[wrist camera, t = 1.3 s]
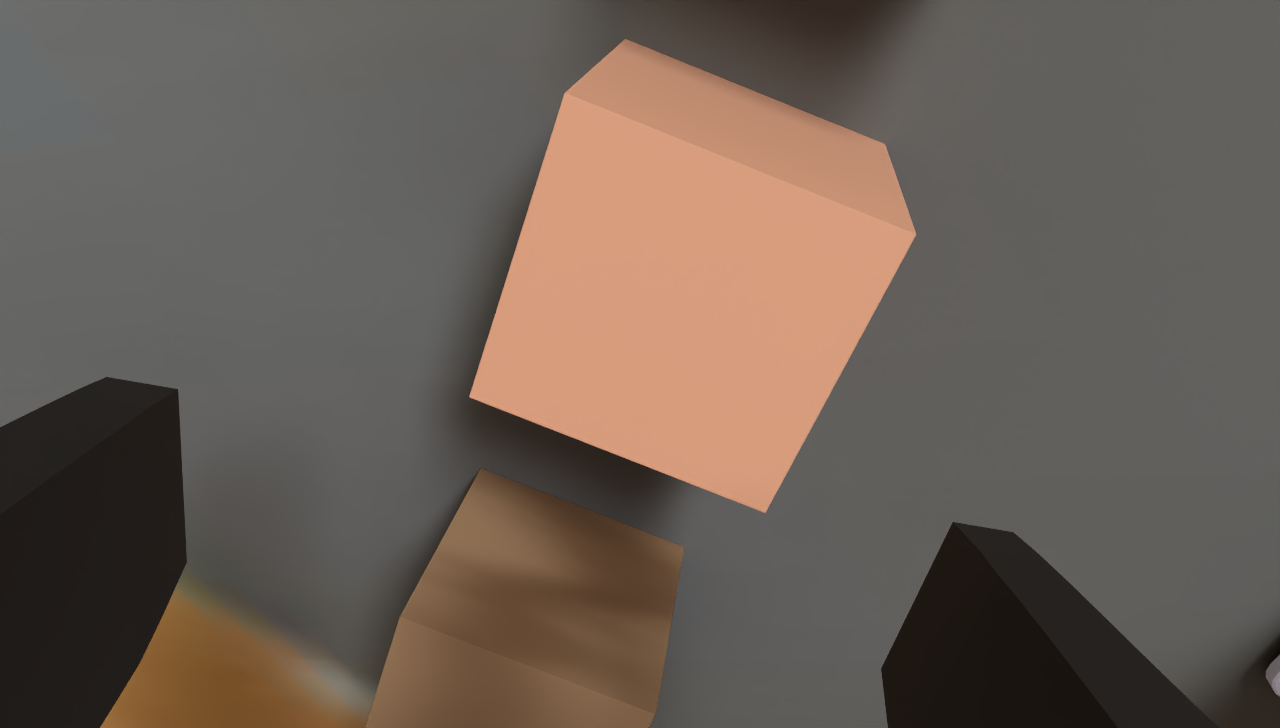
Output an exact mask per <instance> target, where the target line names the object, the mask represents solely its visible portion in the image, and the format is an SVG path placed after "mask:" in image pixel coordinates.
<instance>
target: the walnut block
mask: <svg viewBox="0 0 1280 728" xmlns="http://www.w3.org/2000/svg"><path fill="white" fill-rule="evenodd" d="M683 552H684V547H683V546H680V545H678V544H675V543H672V542H670V541H667V540H665V539H662V538H660V537H657V536H654V535H652V534H649V533H647V532H644V531H642V530H639V529H636V528H634V527H631V526H629V525H626V524H623V523H621V522H618V521H616V520H613V519H611V518H608V517H605V516H603V515H600V514H598V513H595V512H593V511H590V510H587V509H585V508H582V507H580V506H577V505H574V504H572V503H569V502H567V501H564V500H562V499H559V498H556V497H554V496H551V495H549V494H546V493H544V492H541V491H538V490H536V489H533V488H531V487H528V486H525V485H523V484H520V483H518V482H515V481H513V480H510V479H507V478H505V477H502V476H500V475H497V474H495V473H492V472H489V471H487V470H484V469H482V468H481V469H480V471H479V472H478V474H477V476H476V478H475V480H474V482H473V483H472V485H471V487H470V489H469V491H468V493H467V494H466V496H465V498H464V500H463V502H462V504H461V505H460V507H459V509H458V511H457V513H456V515H455V516H454V518H453V520H452V522H451V524H450V526H449V527H448V529H447V531H446V533H445V535H444V537H443V538H442V540H441V542H440V544H439V546H438V548H437V549H436V551H435V553H434V555H433V557H432V559H431V560H430V562H429V564H428V566H427V568H426V570H425V571H424V573H423V575H422V577H421V579H420V581H419V582H418V584H417V586H416V588H415V590H414V592H413V594H412V595H411V597H410V599H409V601H408V603H407V605H406V606H405V608H404V610H403V612H402V614H401V616H400V618H399V621H398V624H397V627H396V631H395V634H394V637H393V640H392V643H391V647H390V650H389V653H388V656H387V659H386V663H385V666H384V669H383V672H382V675H381V679H380V682H379V685H378V688H377V691H376V695H375V698H374V701H373V704H372V707H371V711H370V714H369V717H368V720H367V723H366V727H365V728H649V726H650V724H651V722H652V720H653V718H654V717H655V715H656V710H657V704H658V698H659V692H660V686H661V680H662V675H663V669H664V663H665V657H666V651H667V645H668V640H669V634H670V628H671V622H672V616H673V610H674V605H675V599H676V593H677V587H678V581H679V575H680V570H681V564H682V558H683Z"/></svg>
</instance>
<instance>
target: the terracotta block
mask: <svg viewBox="0 0 1280 728" xmlns="http://www.w3.org/2000/svg"><path fill="white" fill-rule="evenodd" d="M915 236H916V232H915V229H914V227H913V224H912V221H911V218H910V215H909V212H908V209H907V206H906V203H905V201H904V198H903V195H902V192H901V189H900V186H899V183H898V180H897V177H896V174H895V172H894V169H893V166H892V163H891V160H890V157H889V154H888V151H887V148H886V146H885V144H883V143H881V142H878V141H876V140H873V139H871V138H868V137H866V136H863V135H861V134H858V133H856V132H854V131H851V130H849V129H846V128H844V127H841V126H839V125H836V124H834V123H831V122H829V121H826V120H824V119H822V118H819V117H817V116H814V115H812V114H809V113H807V112H804V111H802V110H799V109H797V108H794V107H792V106H790V105H787V104H785V103H782V102H780V101H777V100H775V99H772V98H770V97H767V96H765V95H762V94H760V93H757V92H755V91H753V90H750V89H748V88H745V87H743V86H740V85H738V84H735V83H733V82H730V81H728V80H725V79H723V78H721V77H718V76H716V75H713V74H711V73H708V72H706V71H703V70H701V69H698V68H696V67H693V66H691V65H689V64H686V63H684V62H681V61H679V60H676V59H674V58H671V57H669V56H666V55H664V54H661V53H659V52H656V51H654V50H652V49H649V48H647V47H644V46H642V45H639V44H637V43H634V42H632V41H629V40H627V39H625V40H624V41H622V42H621V43H620V44H619V45H618V46H617V47H616V48H615V49H613V50H612V51H611V52H610V53H609V54H608V55H607V56H606V57H604V58H603V59H602V60H601V61H600V62H599V63H598V64H597V65H596V66H594V67H593V68H592V69H591V70H590V71H589V72H588V73H587V74H585V75H584V76H583V77H582V78H581V79H580V80H579V81H578V82H576V83H575V84H574V85H573V86H572V87H571V88H570V89H569V90H567V91H566V92H565V94H564V97H563V100H562V103H561V107H560V110H559V113H558V116H557V119H556V123H555V126H554V129H553V132H552V135H551V138H550V142H549V145H548V148H547V151H546V154H545V158H544V161H543V164H542V167H541V170H540V173H539V177H538V180H537V183H536V186H535V189H534V193H533V196H532V199H531V202H530V205H529V208H528V212H527V215H526V218H525V221H524V224H523V228H522V231H521V234H520V237H519V240H518V243H517V247H516V250H515V253H514V256H513V259H512V263H511V266H510V269H509V272H508V275H507V278H506V282H505V285H504V288H503V291H502V294H501V298H500V301H499V304H498V307H497V310H496V313H495V317H494V320H493V323H492V326H491V329H490V333H489V336H488V339H487V342H486V345H485V348H484V352H483V355H482V358H481V361H480V364H479V368H478V371H477V374H476V377H475V380H474V383H473V387H472V390H471V393H470V396H469V397H470V398H473V399H475V400H478V401H480V402H483V403H485V404H488V405H490V406H493V407H496V408H498V409H501V410H503V411H506V412H508V413H511V414H513V415H516V416H519V417H521V418H524V419H526V420H529V421H531V422H534V423H537V424H539V425H542V426H544V427H547V428H549V429H552V430H554V431H557V432H560V433H562V434H565V435H567V436H570V437H572V438H575V439H577V440H580V441H583V442H585V443H588V444H590V445H593V446H595V447H598V448H601V449H603V450H606V451H608V452H611V453H613V454H616V455H618V456H621V457H624V458H626V459H629V460H631V461H634V462H636V463H639V464H642V465H644V466H647V467H649V468H652V469H654V470H657V471H659V472H662V473H665V474H667V475H670V476H672V477H675V478H677V479H680V480H682V481H685V482H688V483H690V484H693V485H695V486H698V487H700V488H703V489H706V490H708V491H711V492H713V493H716V494H718V495H721V496H723V497H726V498H729V499H731V500H734V501H736V502H739V503H741V504H744V505H747V506H749V507H752V508H754V509H757V510H759V511H762V512H764V513H765V512H766V511H767V509H768V507H769V505H770V503H771V501H772V499H773V498H774V496H775V494H776V492H777V490H778V488H779V487H780V485H781V483H782V481H783V479H784V477H785V476H786V474H787V472H788V470H789V468H790V466H791V464H792V463H793V461H794V459H795V457H796V455H797V453H798V452H799V450H800V448H801V446H802V444H803V442H804V440H805V439H806V437H807V435H808V433H809V431H810V429H811V428H812V426H813V424H814V422H815V420H816V418H817V416H818V415H819V413H820V411H821V409H822V407H823V405H824V404H825V402H826V400H827V398H828V396H829V394H830V393H831V391H832V389H833V387H834V385H835V383H836V381H837V380H838V378H839V376H840V374H841V372H842V370H843V369H844V367H845V365H846V363H847V361H848V359H849V357H850V356H851V354H852V352H853V350H854V348H855V346H856V345H857V343H858V341H859V339H860V337H861V335H862V334H863V332H864V330H865V328H866V326H867V324H868V322H869V321H870V319H871V317H872V315H873V313H874V311H875V310H876V308H877V306H878V304H879V302H880V300H881V298H882V297H883V295H884V293H885V291H886V289H887V287H888V286H889V284H890V282H891V280H892V278H893V276H894V274H895V273H896V271H897V269H898V267H899V265H900V263H901V262H902V260H903V258H904V256H905V254H906V252H907V251H908V249H909V247H910V245H911V243H912V241H913V239H914V238H915Z"/></svg>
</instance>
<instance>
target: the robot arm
mask: <svg viewBox="0 0 1280 728" xmlns="http://www.w3.org/2000/svg"><path fill="white" fill-rule="evenodd" d="M186 563H187V557H186V537H185V518H184V498H183V478H182V459H181V439H180V419H179V400H178V389H173V388H167V387H162V386H156V385H150V384H144V383H138V382H132V381H127V380H121V379H115V378H109V377H106V378H103V379H101V380H99V381H96V382H94V383H92V384H89V385H87V386H85V387H83V388H80V389H78V390H76V391H74V392H72V393H70V394H68V395H65V396H63V397H61V398H59V399H57V400H55V401H53V402H51V403H49V404H47V405H45V406H43V407H41V408H39V409H37V410H35V411H33V412H30V413H28V414H26V415H24V416H22V417H20V418H18V419H16V420H14V421H12V422H10V423H8V424H6V425H4V426H2V427H0V728H100V726H101V725H102V723H103V722H104V720H105V718H106V717H107V715H108V714H109V712H110V710H111V709H112V707H113V706H114V704H115V702H116V701H117V699H118V698H119V696H120V694H121V693H122V691H123V690H124V688H125V686H126V685H127V683H128V681H129V680H130V678H131V676H132V675H133V673H134V672H135V670H136V668H137V667H138V665H139V663H140V661H141V659H142V657H143V655H144V653H145V651H146V649H147V647H148V645H149V643H150V641H151V639H152V637H153V634H154V632H155V630H156V628H157V626H158V624H159V622H160V620H161V618H162V616H163V614H164V611H165V609H166V607H167V605H168V603H169V600H170V598H171V596H172V594H173V591H174V589H175V587H176V585H177V583H178V580H179V578H180V576H181V574H182V571H183V569H184V567H185V565H186ZM881 671H882V679H883V688H884V697H885V705H886V714H887V723H888V728H1219V727H1217V726H1216V725H1215V724H1214V723H1213V722H1212V721H1211V720H1210V719H1209V718H1208V717H1207V716H1206V715H1205V714H1204V713H1203V712H1202V711H1201V710H1200V709H1198V708H1197V707H1196V706H1195V705H1194V704H1193V703H1192V702H1191V701H1190V700H1189V699H1188V698H1187V697H1186V696H1185V695H1184V694H1183V693H1182V692H1181V691H1180V690H1179V689H1178V688H1177V687H1176V686H1175V685H1174V684H1172V683H1171V682H1170V681H1169V680H1168V679H1167V678H1166V677H1165V676H1164V675H1163V674H1162V673H1161V672H1160V671H1159V670H1158V669H1157V668H1156V667H1155V666H1154V665H1153V664H1152V663H1151V662H1150V661H1149V660H1148V659H1147V658H1146V657H1145V656H1144V655H1143V654H1142V653H1141V652H1140V651H1139V650H1137V649H1136V648H1135V647H1134V646H1133V645H1132V644H1131V643H1130V642H1129V641H1128V640H1127V639H1126V638H1125V637H1124V636H1123V635H1122V634H1121V633H1120V632H1119V631H1118V630H1117V629H1116V628H1115V627H1114V626H1113V625H1112V624H1111V623H1110V622H1109V621H1108V620H1107V619H1106V618H1105V617H1104V616H1103V615H1102V614H1101V613H1100V612H1099V611H1098V610H1097V609H1096V608H1095V607H1094V606H1093V605H1092V604H1090V603H1089V602H1088V601H1087V600H1086V599H1085V598H1084V597H1083V596H1082V595H1081V594H1080V593H1079V592H1078V591H1077V590H1076V589H1075V588H1074V587H1073V586H1072V585H1071V584H1070V583H1069V582H1068V581H1067V580H1066V579H1065V578H1064V577H1063V576H1061V575H1060V574H1059V573H1058V572H1057V571H1056V570H1055V569H1054V568H1053V567H1052V566H1051V565H1050V564H1049V563H1048V562H1047V561H1045V560H1044V559H1043V558H1042V557H1041V556H1040V555H1039V554H1038V553H1037V552H1036V551H1034V550H1033V549H1032V548H1031V547H1030V546H1029V545H1028V544H1026V543H1025V542H1024V541H1023V540H1022V539H1020V538H1019V537H1018V536H1017V535H1016V534H1014V533H1013V532H1008V531H1002V530H996V529H990V528H985V527H979V526H973V525H967V524H961V523H955V522H953V523H952V525H951V527H950V529H949V531H948V533H947V535H946V537H945V539H944V541H943V543H942V545H941V548H940V550H939V552H938V554H937V556H936V558H935V560H934V562H933V564H932V566H931V568H930V570H929V572H928V574H927V576H926V578H925V580H924V582H923V584H922V586H921V588H920V591H919V593H918V595H917V597H916V599H915V601H914V603H913V605H912V607H911V609H910V611H909V613H908V615H907V617H906V619H905V621H904V623H903V625H902V627H901V629H900V631H899V634H898V636H897V638H896V640H895V642H894V644H893V646H892V648H891V650H890V652H889V654H888V656H887V658H886V660H885V662H884V664H883V666H882V668H881ZM1266 679H1267V680H1268V682H1269V684H1270V685H1271V687H1272V689H1273V690H1274V692H1275V694H1277V695H1278V696H1280V655H1279V656H1278V657H1277V658H1276V659H1275V660H1274V661H1273V662H1272V663H1271V664H1270V665H1269V667H1268V669H1267V670H1266Z"/></svg>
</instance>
